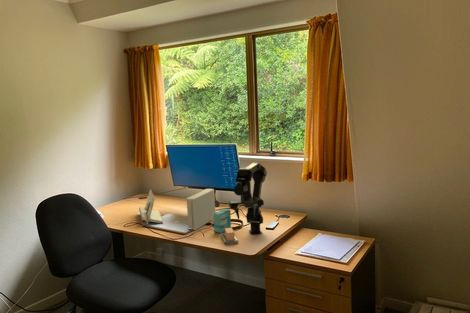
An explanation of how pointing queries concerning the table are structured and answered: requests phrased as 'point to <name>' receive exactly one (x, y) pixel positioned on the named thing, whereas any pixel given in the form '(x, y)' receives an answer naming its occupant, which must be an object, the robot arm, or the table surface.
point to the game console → (200, 208)
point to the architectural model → (150, 211)
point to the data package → (222, 220)
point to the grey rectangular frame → (229, 241)
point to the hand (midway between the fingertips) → (246, 218)
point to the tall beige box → (229, 234)
